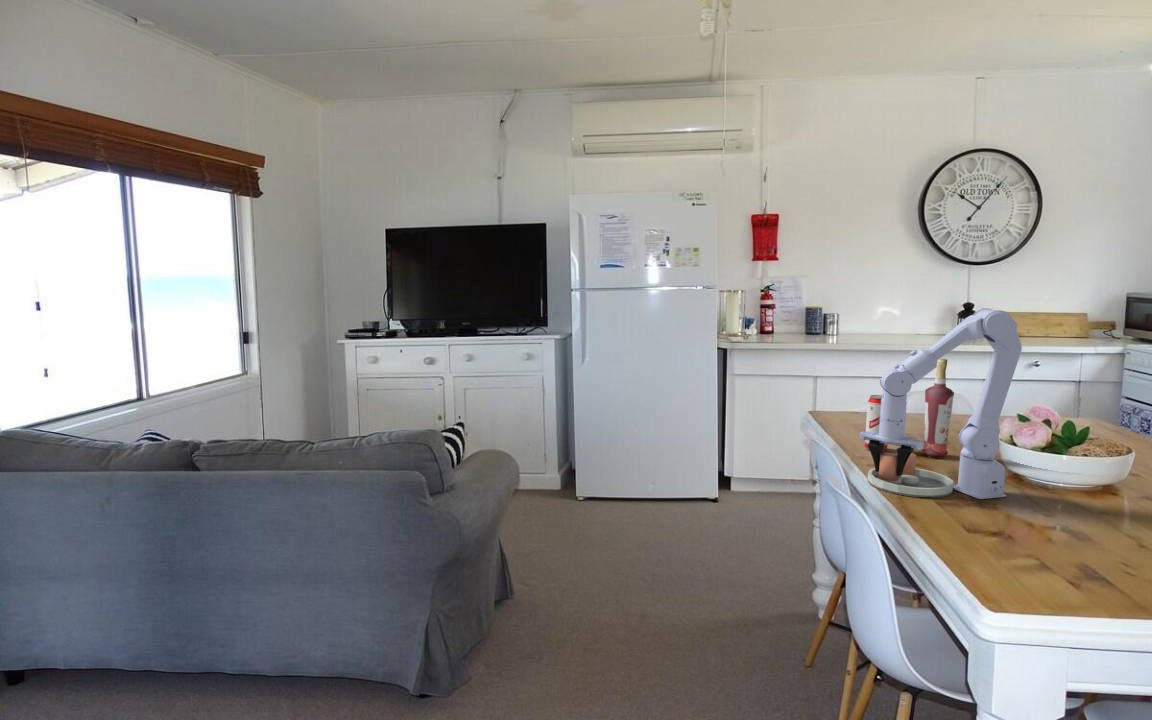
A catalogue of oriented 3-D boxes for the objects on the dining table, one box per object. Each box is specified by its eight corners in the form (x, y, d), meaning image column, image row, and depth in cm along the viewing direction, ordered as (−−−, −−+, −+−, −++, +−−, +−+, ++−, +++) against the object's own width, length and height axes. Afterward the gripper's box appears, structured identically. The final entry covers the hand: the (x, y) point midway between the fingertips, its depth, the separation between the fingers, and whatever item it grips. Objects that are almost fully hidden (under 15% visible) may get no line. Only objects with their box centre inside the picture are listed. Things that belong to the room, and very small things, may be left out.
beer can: (889, 453, 209) (893, 399, 207) (866, 451, 211) (870, 398, 209) (884, 447, 215) (888, 395, 213) (862, 446, 217) (866, 394, 215)
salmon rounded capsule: (918, 479, 182) (920, 456, 181) (903, 480, 181) (905, 457, 180) (906, 474, 186) (907, 451, 185) (891, 475, 185) (893, 452, 184)
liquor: (941, 460, 202) (949, 361, 198) (915, 455, 207) (923, 358, 204) (953, 456, 206) (961, 359, 203) (927, 451, 212) (934, 357, 208)
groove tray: (970, 494, 172) (971, 485, 171) (905, 500, 166) (905, 491, 166) (912, 472, 190) (913, 464, 190) (851, 477, 184) (852, 469, 184)
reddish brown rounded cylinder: (900, 478, 178) (902, 455, 177) (894, 482, 175) (896, 458, 174) (882, 474, 181) (883, 451, 180) (875, 478, 178) (877, 455, 177)
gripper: (929, 421, 174) (925, 475, 176) (868, 412, 184) (865, 464, 185) (920, 425, 169) (915, 481, 171) (858, 416, 178) (854, 469, 180)
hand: (888, 473), depth 178 cm, fingers closed on reddish brown rounded cylinder, 4 cm apart
